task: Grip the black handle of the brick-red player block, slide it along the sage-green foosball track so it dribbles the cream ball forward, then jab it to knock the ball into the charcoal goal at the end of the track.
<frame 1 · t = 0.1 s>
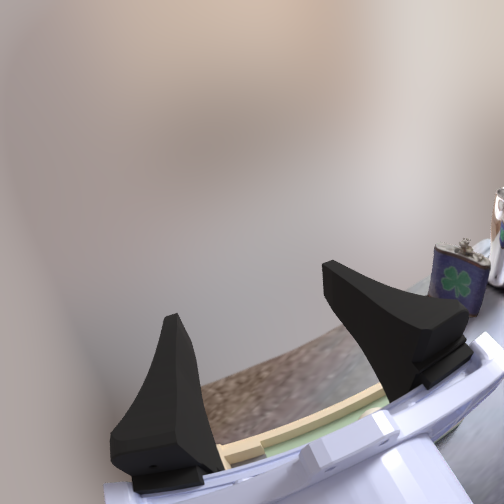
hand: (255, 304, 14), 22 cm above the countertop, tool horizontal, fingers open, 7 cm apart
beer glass: (497, 279, 39), on the countertop
pitch: (346, 451, 24), on the countertop
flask: (453, 304, 38), on the countertop
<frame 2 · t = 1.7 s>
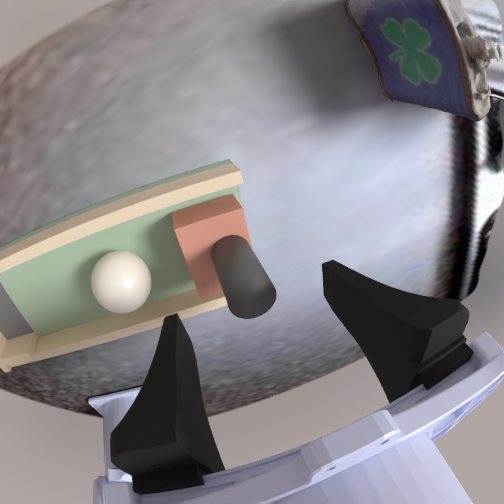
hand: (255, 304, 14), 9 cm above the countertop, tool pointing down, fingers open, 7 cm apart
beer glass: (463, 66, 20), on the countertop
player: (223, 265, 17), point 5 cm above the countertop, slide at 0.0 cm
ball: (121, 281, 18), point 3 cm above the countertop, touching pitch
pitch: (89, 270, 20), on the countertop
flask: (376, 48, 18), on the countertop
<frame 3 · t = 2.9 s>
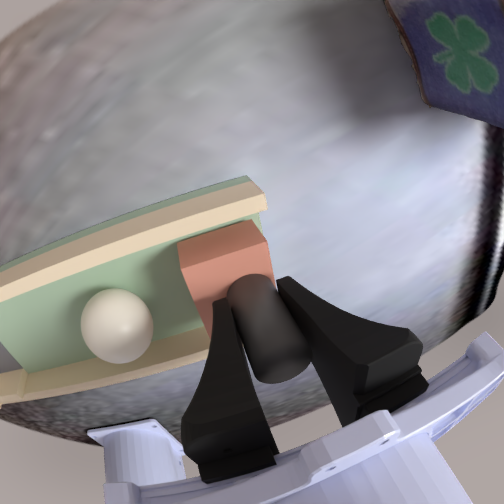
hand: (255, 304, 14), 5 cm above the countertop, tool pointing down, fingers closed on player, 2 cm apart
player: (242, 312, 14), point 5 cm above the countertop, slide at 0.0 cm, touching gripper
ball: (116, 326, 15), point 3 cm above the countertop, touching pitch
pitch: (79, 305, 17), on the countertop
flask: (414, 46, 14), on the countertop
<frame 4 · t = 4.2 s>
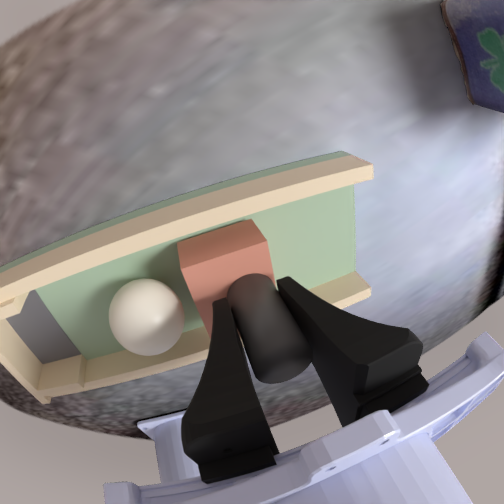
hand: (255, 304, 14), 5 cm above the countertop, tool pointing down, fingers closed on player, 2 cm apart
player: (242, 312, 14), point 5 cm above the countertop, slide at 5.9 cm, touching gripper
ball: (146, 317, 15), point 3 cm above the countertop, tilted 117°, touching pitch
pitch: (163, 278, 17), on the countertop
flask: (461, 52, 15), on the countertop
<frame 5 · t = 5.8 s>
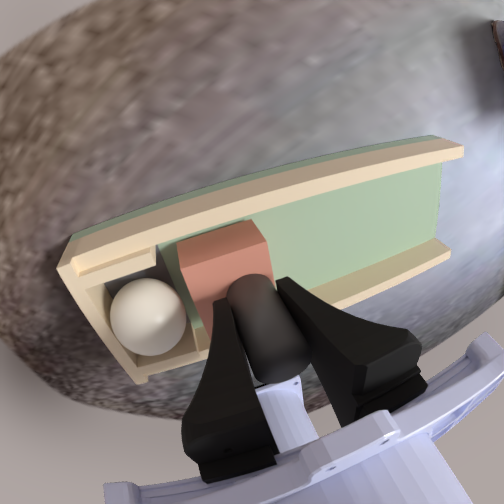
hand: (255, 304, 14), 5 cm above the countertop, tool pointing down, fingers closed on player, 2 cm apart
player: (242, 312, 14), point 5 cm above the countertop, slide at 14.0 cm, touching gripper
ball: (148, 317, 15), point 3 cm above the countertop, tilted 14°, touching pitch
pitch: (292, 235, 19), on the countertop
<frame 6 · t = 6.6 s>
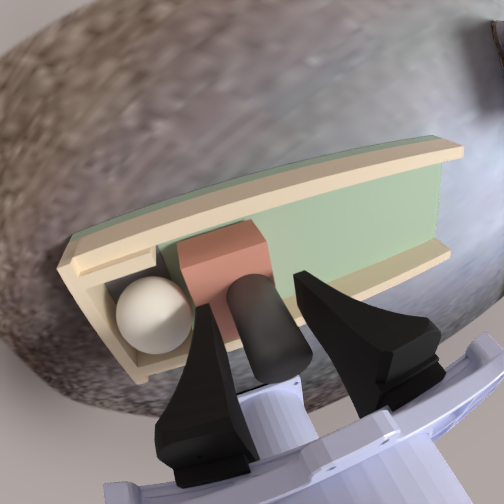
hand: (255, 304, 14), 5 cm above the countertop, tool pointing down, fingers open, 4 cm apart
player: (242, 312, 14), point 5 cm above the countertop, slide at 14.0 cm
ball: (154, 315, 15), point 3 cm above the countertop, tilted 23°, touching pitch
pitch: (292, 236, 19), on the countertop
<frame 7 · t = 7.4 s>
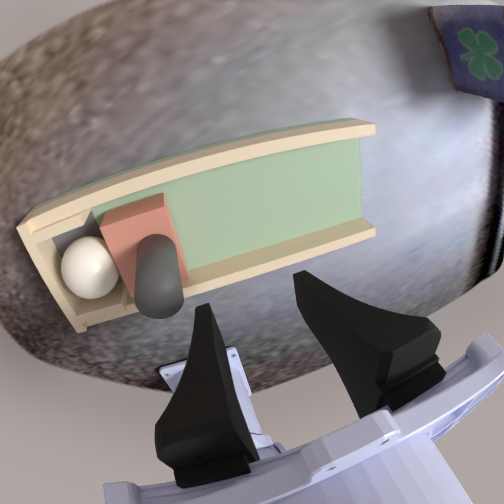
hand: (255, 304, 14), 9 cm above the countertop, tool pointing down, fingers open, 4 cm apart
player: (145, 264, 17), point 5 cm above the countertop, slide at 14.0 cm
ball: (90, 267, 18), point 3 cm above the countertop, tilted 31°, touching pitch
pitch: (207, 209, 21), on the countertop
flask: (446, 48, 19), on the countertop
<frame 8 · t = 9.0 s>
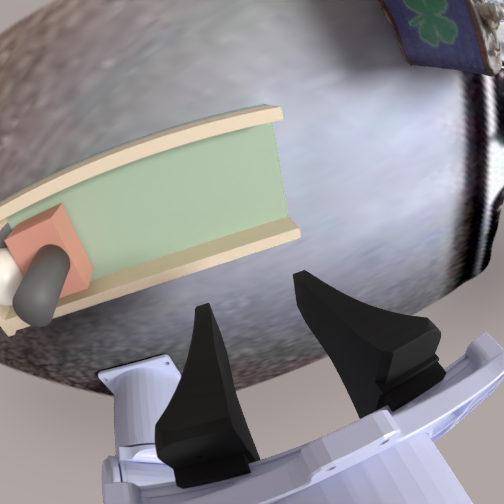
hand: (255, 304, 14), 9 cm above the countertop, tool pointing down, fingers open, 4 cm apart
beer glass: (472, 42, 19), on the countertop
player: (40, 274, 15), point 5 cm above the countertop, slide at 14.0 cm
ball: (6, 276, 16), point 3 cm above the countertop, tilted 28°, touching pitch
pitch: (112, 216, 19), on the countertop
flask: (395, 17, 17), on the countertop
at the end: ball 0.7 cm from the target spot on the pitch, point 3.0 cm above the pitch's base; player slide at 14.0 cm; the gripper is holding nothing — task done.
